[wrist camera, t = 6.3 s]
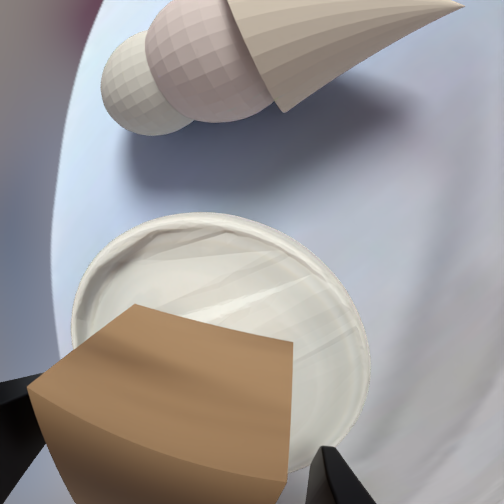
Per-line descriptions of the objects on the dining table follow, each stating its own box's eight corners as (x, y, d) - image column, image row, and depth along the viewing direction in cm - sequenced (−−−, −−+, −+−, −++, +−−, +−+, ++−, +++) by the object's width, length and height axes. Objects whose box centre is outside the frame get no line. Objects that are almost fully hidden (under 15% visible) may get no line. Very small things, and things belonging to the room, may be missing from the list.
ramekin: (191, 159, 13) (134, 144, 8) (394, 292, 13) (440, 345, 8) (103, 338, 16) (49, 383, 11) (264, 437, 16) (253, 505, 11)
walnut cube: (260, 449, 10) (239, 560, 5) (136, 415, 10) (75, 503, 5) (293, 342, 9) (287, 481, 4) (134, 303, 9) (26, 387, 4)
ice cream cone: (442, 51, 10) (168, 124, 15) (413, -59, 6) (111, 36, 11) (515, 105, 6) (128, 199, 11) (494, -61, 2) (36, 81, 7)
